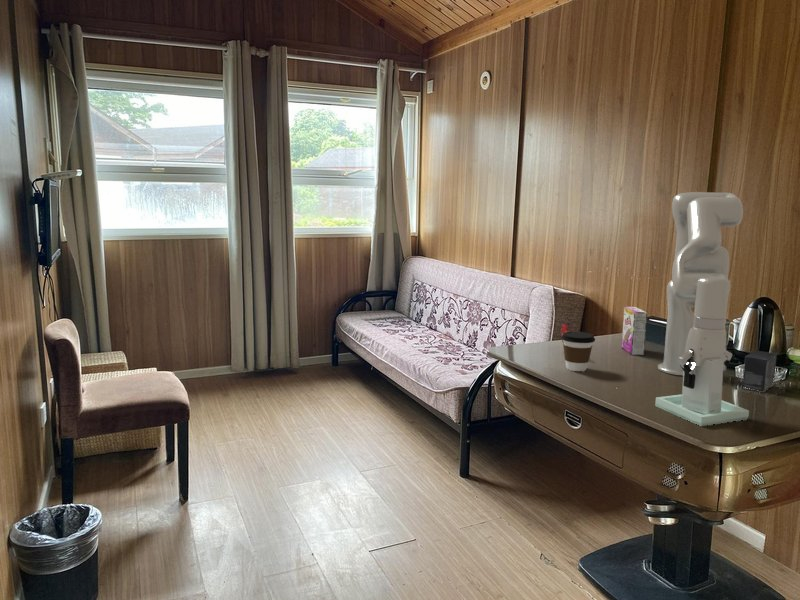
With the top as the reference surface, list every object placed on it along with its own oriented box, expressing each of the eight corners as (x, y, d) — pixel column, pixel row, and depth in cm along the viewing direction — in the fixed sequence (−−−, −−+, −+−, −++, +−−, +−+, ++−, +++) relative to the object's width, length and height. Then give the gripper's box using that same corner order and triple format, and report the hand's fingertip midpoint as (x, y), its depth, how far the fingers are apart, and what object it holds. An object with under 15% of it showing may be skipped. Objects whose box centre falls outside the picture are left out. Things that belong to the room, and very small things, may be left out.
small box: (751, 381, 192) (754, 349, 190) (774, 385, 188) (778, 353, 186) (740, 388, 185) (744, 355, 183) (764, 393, 180) (768, 359, 178)
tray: (699, 400, 173) (700, 392, 172) (748, 419, 158) (749, 410, 158) (655, 406, 168) (655, 397, 167) (700, 426, 153) (701, 417, 152)
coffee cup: (552, 367, 205) (554, 333, 203) (573, 363, 211) (575, 329, 209) (578, 375, 196) (581, 339, 194) (599, 370, 202) (602, 335, 200)
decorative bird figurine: (564, 348, 232) (565, 322, 231) (583, 360, 215) (585, 332, 213) (556, 348, 232) (558, 322, 230) (576, 360, 215) (577, 333, 213)
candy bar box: (620, 347, 233) (623, 306, 231) (633, 348, 233) (636, 306, 231) (630, 355, 222) (634, 311, 220) (644, 355, 222) (648, 312, 219)
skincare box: (721, 412, 161) (726, 358, 158) (707, 416, 158) (713, 361, 155) (692, 403, 168) (697, 351, 165) (678, 406, 165) (683, 354, 162)
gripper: (722, 318, 165) (716, 378, 168) (672, 322, 159) (666, 384, 162) (746, 324, 158) (739, 386, 161) (694, 328, 152) (688, 393, 155)
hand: (702, 385), depth 162 cm, fingers open, 9 cm apart
